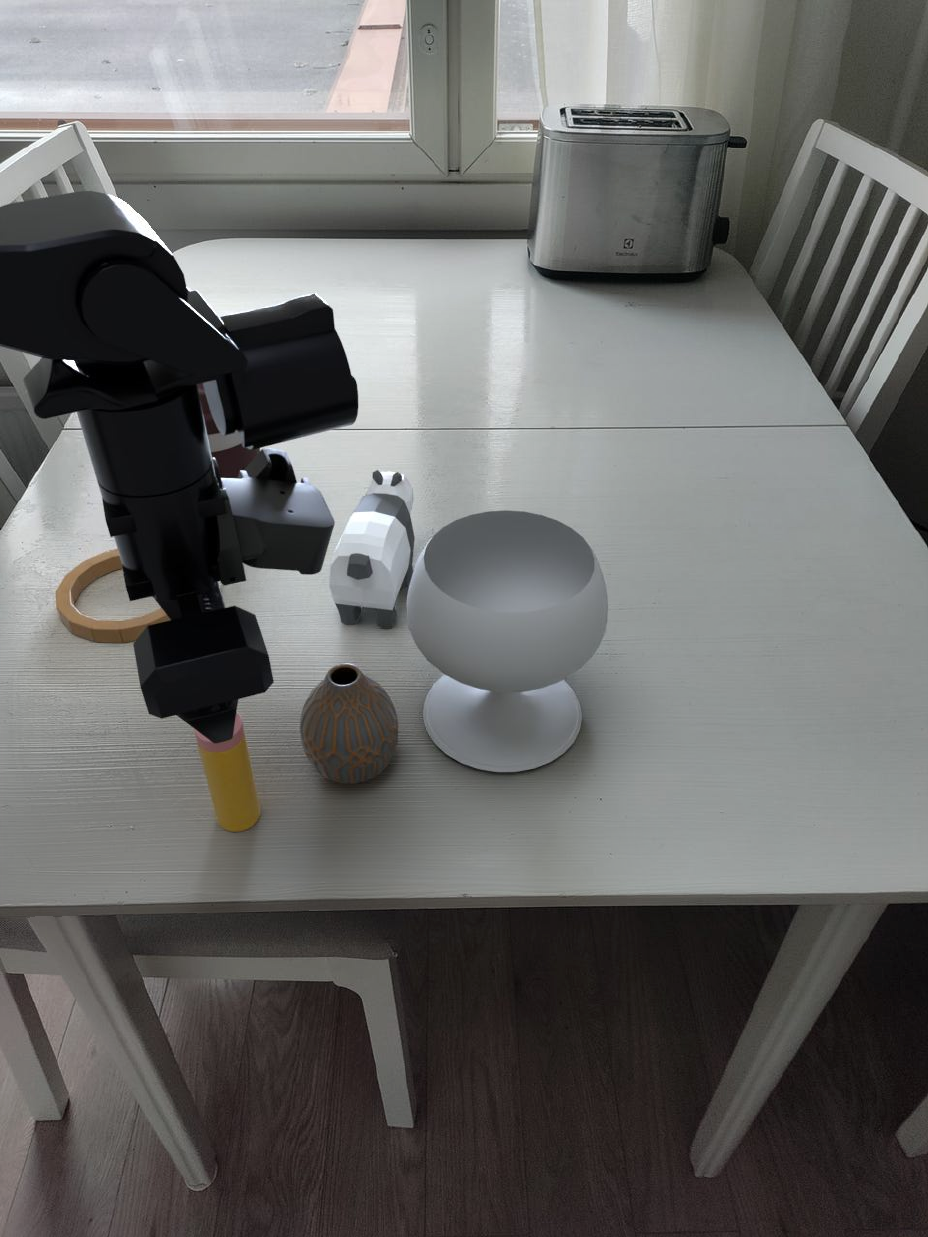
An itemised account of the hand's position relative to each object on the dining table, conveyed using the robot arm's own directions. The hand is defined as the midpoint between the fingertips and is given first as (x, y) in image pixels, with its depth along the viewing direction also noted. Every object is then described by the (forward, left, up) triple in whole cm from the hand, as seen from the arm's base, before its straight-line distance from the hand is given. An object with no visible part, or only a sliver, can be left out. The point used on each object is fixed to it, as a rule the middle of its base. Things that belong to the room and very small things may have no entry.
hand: (210, 687), depth 58 cm
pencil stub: (0, 0, -12) cm, 12 cm away
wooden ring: (+16, +22, -12) cm, 30 cm away
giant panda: (+26, +3, -12) cm, 29 cm away
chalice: (+16, -13, -12) cm, 24 cm away
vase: (+7, -5, -12) cm, 15 cm away
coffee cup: (+29, +22, -12) cm, 39 cm away
